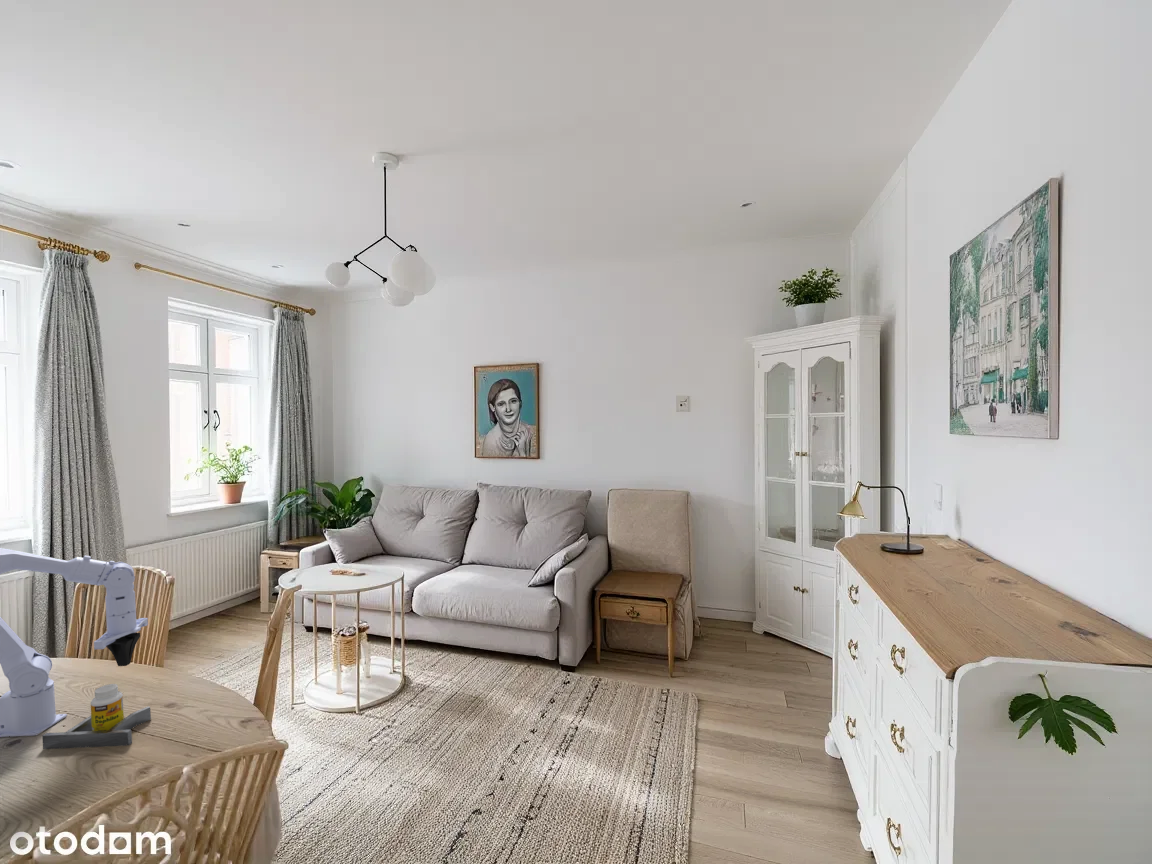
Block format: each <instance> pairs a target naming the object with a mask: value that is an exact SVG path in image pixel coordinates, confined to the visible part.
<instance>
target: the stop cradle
mask: <svg viewBox="0 0 1152 864" xmlns="http://www.w3.org/2000/svg"><path fill="white" fill-rule="evenodd" d="M151 714H152V711H151V707H150V706H149V705H147V706H145V707H143V708H141V709H138V710H136V711H134V712H131V713H130V714H129V715H127V716H126V717H124V719H123V720H122V721H120V722H119V723H118V724H116V725H115V726H113V727H112V728H111V729H109V730H107V731H92V722H91V714H90V715H89V716H87V717H86V718H84V719H83V720H82V721H80V722H79V723H77V724H76V725H74V726H73V727H71V728H70V729H68V730H67V731H65V732H64V731H63V732H46V733H45V734H43V735H42V737H41V739H42V749H43V750H53V749H76V748H78V749H79V748H80V749H81V748H100V747H101V748H102V747H103V748H104V747H106V748H107V747H124V746H125V747H126V746H127V747H129V746H130V745H132V743H133V736H132V733H133V731H132V730H133V729H134V728H136V727H137V726H136V725H138V726H140V725H142V724H144V723H147V722H149V721H151V720H152V715H151ZM150 719H151V720H150ZM148 720H149V721H148ZM146 721H147V722H146ZM141 723H142V724H141ZM139 724H140V725H139ZM135 726H136V727H135ZM133 727H134V728H133ZM132 728H133V729H132ZM131 729H132V730H131Z"/></svg>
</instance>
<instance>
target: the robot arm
mask: <svg viewBox="0 0 1152 864" xmlns="http://www.w3.org/2000/svg"><path fill="white" fill-rule="evenodd" d="M14 570H20V571H29V572H36V573H37V572H38V573H39V572H40V573H44V574H45V573H46V574H54V575H61V576H62V578H63V579H64V580H65V581H66V582H71V583H79V584H85V585H92V586H93V585H94V586H104V588H105V590H106V591H105V592H106V594H105V596H104V598H105V617H106V618H105V620H106V631H105V632H104V634H102V635H101V636H100V637H99V638H98V639H95V640H94V641H93V648H94V650H104V649H105V648H107V649H108V650H109V651H110V652H111V654H112V655H113V658H114V660H115V661H116V664H117V667H126V666H128V665H130V664H131V662H132V658H133V654H134V651H135V648H136V645H137V642H138V641H139V639H140V637H141V633H140V631H141V630H142V628H143V627H147V626H149V620H148V619H149V618H148V617H140V618H138V619H137V608H136V607H137V605H136V591H135V590H134V589H135V584H134V582H135V580H136V576H135V571H134V568H133V567H132V566H131V564H130V563H126V562H124V561H117V562H116V561H114V560H109V561H104V560H99V559H98V560H97V559H92V556H90V555H83V557H81V556H76V557H74V558H72V559H69V560H64V559H59V558H54V557H50V556H45V555H42V554H41V555H40V554H37V553H36V554H35V553H30V552H25V551H20V550H15V549H11V548H10V549H9V548H3V547H0V575H1V574H5V573H8V572H12V571H14ZM0 666H1V670H2V672H3V675H4V676H5V677H6V678H7V680H8V684H9V685H8V686H9V690H8V691H6V692H5V693H3V694H2V695H1V696H0V738H3V737H5V738H6V737H9V736H10V737H28V736H29V737H30V736H33V737H34V736H37V735H39V734H41V733H42V732H44V731H45V730H47V729H49V728H50V727H52V726H54V725H55V724H56V723H58V722H60V721H61V720H63V719H64V718H66V717H67V715H68V714H67V713H59V714H57V713H56V711H57V710H56V697H55V680H53V679H52V678H50V677H49V675H50V672H51V670H52V668H53V661H52V660H51V658H50V657H49V656H48V655H46V654H42V653H39V652H38V651H36V649H35V648H33V647H31V646H29V645H27V644H26V643H25V641H23V640H22V639H21V637H19V635H18V634H17V633H16V632H15V631H14V630H13V629H12V628H11V627H10V625H8V623H7V622H6V621H5V620H4V619H3V618H2V616H0Z"/></svg>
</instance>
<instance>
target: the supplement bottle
mask: <svg viewBox="0 0 1152 864" xmlns="http://www.w3.org/2000/svg"><path fill="white" fill-rule="evenodd" d="M90 715H91V722H92V731H107V730H109V729H111V728H112V727H113V726H115V725H116V724H118V723H119V722H120V721H122V720H123V719H124V718H125V716H124V715H125V714H124V695H123V692H122V691H119V688H118V684H117V683H110V684H105V685H102V686H100V687H97V688H96V689H95V690H94V697H93V699H91V701H90Z"/></svg>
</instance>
